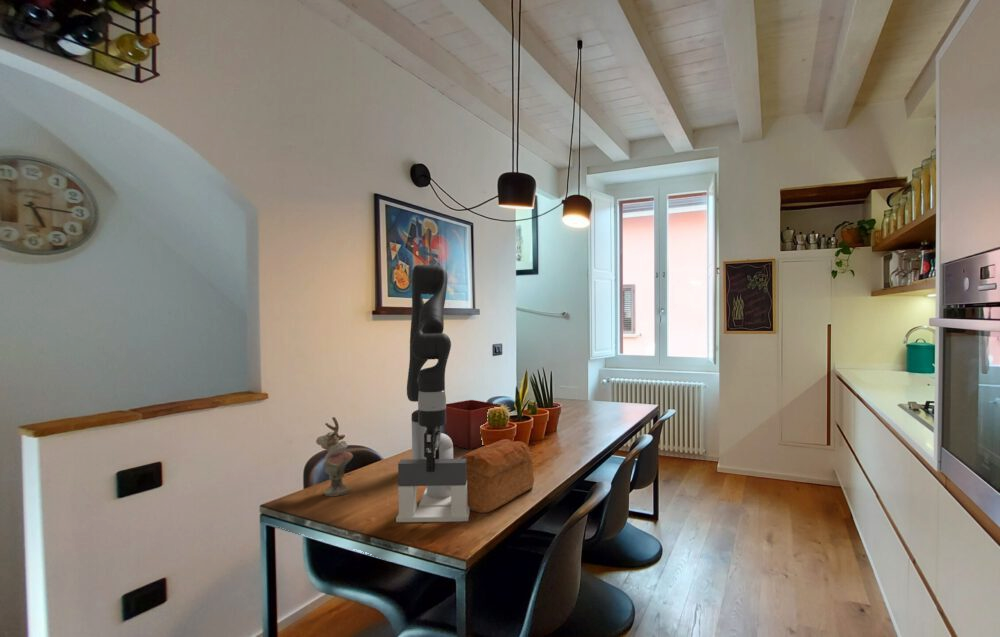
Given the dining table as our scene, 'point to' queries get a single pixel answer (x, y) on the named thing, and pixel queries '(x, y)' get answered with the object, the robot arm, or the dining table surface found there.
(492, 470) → the bread
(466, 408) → the plant pot
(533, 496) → the dining table surface
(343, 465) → the decorative bust
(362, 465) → the dining table surface
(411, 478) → the gray bar
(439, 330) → the robot arm
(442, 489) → the display stand
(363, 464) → the dining table surface
